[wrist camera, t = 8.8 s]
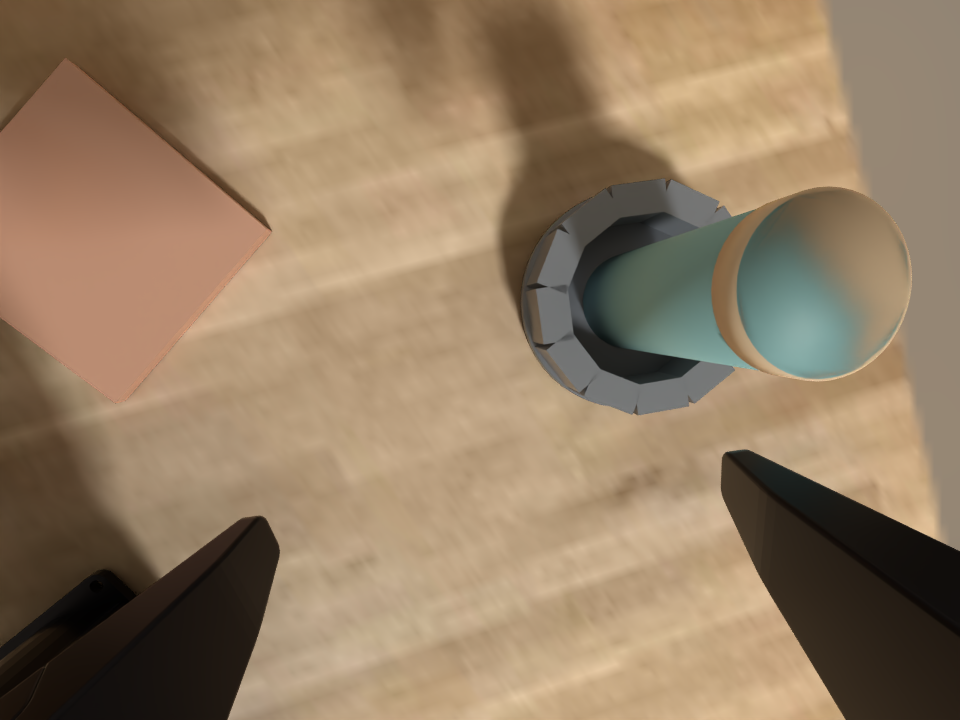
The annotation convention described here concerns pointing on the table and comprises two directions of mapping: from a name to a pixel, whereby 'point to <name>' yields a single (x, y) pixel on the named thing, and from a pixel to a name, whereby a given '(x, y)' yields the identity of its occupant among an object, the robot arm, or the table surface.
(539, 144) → the table surface
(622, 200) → the holder
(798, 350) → the peg
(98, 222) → the coaster
